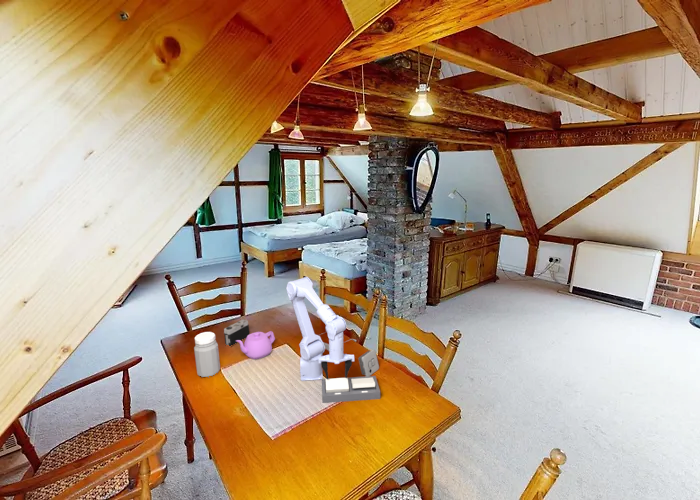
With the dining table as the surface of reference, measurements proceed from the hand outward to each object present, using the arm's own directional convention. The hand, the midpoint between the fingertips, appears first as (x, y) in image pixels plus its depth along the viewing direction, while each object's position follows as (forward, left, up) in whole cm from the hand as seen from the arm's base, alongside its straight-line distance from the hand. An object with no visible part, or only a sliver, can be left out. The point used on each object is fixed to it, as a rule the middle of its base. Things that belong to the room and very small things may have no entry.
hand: (336, 376), depth 139 cm
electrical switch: (+15, +11, -6) cm, 20 cm away
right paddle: (+11, -2, -3) cm, 11 cm away
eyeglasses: (+2, +40, -7) cm, 41 cm away
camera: (-51, +48, -6) cm, 71 cm away
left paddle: (0, -2, -3) cm, 4 cm away
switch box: (+5, -2, -6) cm, 8 cm away
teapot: (-38, +32, -6) cm, 50 cm away
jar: (-57, +18, -6) cm, 60 cm away
